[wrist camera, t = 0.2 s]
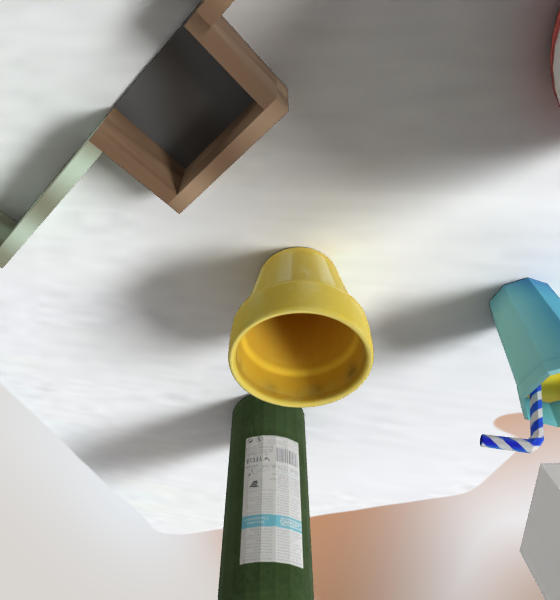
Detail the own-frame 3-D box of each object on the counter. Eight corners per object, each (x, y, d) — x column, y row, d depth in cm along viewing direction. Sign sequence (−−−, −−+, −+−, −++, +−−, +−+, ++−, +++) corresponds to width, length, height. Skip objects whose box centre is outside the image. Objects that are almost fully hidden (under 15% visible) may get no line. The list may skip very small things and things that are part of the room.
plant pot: (217, 298, 43) (205, 385, 36) (269, 206, 37) (268, 288, 30) (318, 335, 46) (326, 423, 39) (381, 256, 40) (405, 342, 33)
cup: (423, 334, 46) (471, 483, 35) (437, 269, 41) (499, 418, 30) (573, 329, 46) (670, 478, 35) (605, 263, 41) (732, 411, 30)
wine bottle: (238, 435, 57) (213, 805, 34) (227, 393, 52) (189, 795, 29) (306, 431, 56) (326, 804, 34) (301, 388, 51) (321, 793, 29)
